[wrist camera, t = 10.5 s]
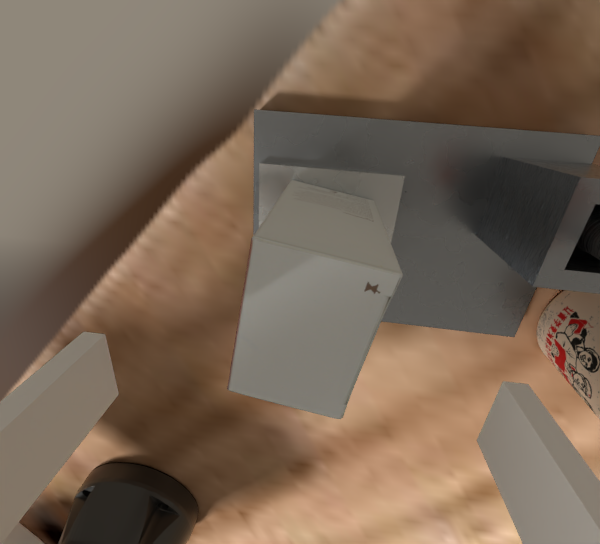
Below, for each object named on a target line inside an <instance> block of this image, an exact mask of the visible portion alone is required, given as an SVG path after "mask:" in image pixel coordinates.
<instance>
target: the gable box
mask: <svg viewBox="0 0 600 544" xmlns="http://www.w3.org/2000/svg"><path fill="white" fill-rule="evenodd" d="M2 544H45V543H44V542H43V541H42V540H40V539H39V538H38V537H37V536H36V535H34V534H33V533H32V532H31V531H29V530H28V529H27V528H26V527H24V526H23V525H22V524H21V523H20V522H18V524H17V525H16V526H15V527H14V529H13V530H12V531H11V533H10V534H9V535H8V536H7V538H6V539H5V540H4V541H3V543H2Z"/></svg>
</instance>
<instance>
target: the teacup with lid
mask: <svg viewBox="0 0 600 544" xmlns="http://www.w3.org/2000/svg"><path fill="white" fill-rule="evenodd" d="M537 340H538V344H539V346H540V348H541V350H542V352H543V353H544V354H545V355H546V357H547V358H548V359H549V360H550V361H551V363H552V364H553V365H554V366H555V367H556V368H557V370H558V371H559V372H560V373H561V374H562V375H563V377H564V378H565V379H566V380H567V381H568V383H569V384H570V385H571V386H572V387H573V388H574V390H575V391H576V392H577V393H578V394H579V395H580V397H581V398H582V399H583V400H584V401H585V403H586V404H587V405H588V406H589V407H590V408H591V410H592V411H593V412H594V413H595V414H596V415H597V417H598V418H599V419H600V294H596V293H587V292H578V291H569V290H564V291H563V292H561V293H560V294H559V295H558V296H556V297H555V298H554V299H553V300H552V301H551V302H550V303H549V305H548V306H547V307H546V308H545V310H544V311H543V313H542V315H541V317H540V319H539V322H538V326H537Z"/></svg>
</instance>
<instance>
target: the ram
mask: <svg viewBox="0 0 600 544" xmlns="http://www.w3.org/2000/svg"><path fill="white" fill-rule="evenodd" d="M576 247H578V248H580V249H581V250H583V251H585V252H587V253H588V254H590V255H592V256H594V257H596V258H597V259H599V260H600V211H598V210H596V209H593V211H592V213H591V215H590V217H589V219H588V221H587V223H586V225H585V227H584V229H583V232H582V234H581V236H580V238H579V240H578V242H577V244H576Z"/></svg>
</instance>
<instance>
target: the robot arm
mask: <svg viewBox="0 0 600 544" xmlns="http://www.w3.org/2000/svg"><path fill="white" fill-rule="evenodd" d="M118 395H119V392H118V388H117V384H116V379H115V375H114V370H113V366H112V362H111V357H110V353H109V349H108V344H107V340H106V335H105V334H100V333H91V332H83V333H81V334H80V335H79V336H78V337H77V338H75V339H74V340H73V341H72V342H71V343H69V344H68V345H67V346H66V347H65V348H64V349H62V350H61V351H60V352H59V353H58V354H56V355H55V356H54V357H53V358H52V359H51V360H49V361H48V362H47V363H46V364H45V365H43V366H42V367H41V368H40V369H39V370H37V371H36V372H35V373H34V374H33V375H32V376H30V377H29V378H28V379H27V380H26V381H24V382H23V383H22V384H21V385H20V386H19V387H17V388H16V389H15V390H14V391H13V392H11V393H10V394H9V395H8V396H7V397H5V398H4V399H3V400H2V401H1V402H0V544H2V543H3V541H4V540H5V539H6V538H7V536H8V535H9V534H10V533H11V531H12V530H13V529H14V527H15V526H16V525H17V524H18V522H19V521H20V520H21V518H22V517H23V516H24V515H25V513H26V512H27V511H28V510H29V508H30V507H31V506H32V504H33V503H34V502H35V501H36V499H37V498H38V497H39V496H40V494H41V493H42V492H43V490H44V489H45V488H46V487H47V485H48V484H49V483H50V482H51V480H52V479H53V478H54V476H55V475H56V474H57V473H58V471H59V470H60V469H61V468H62V466H63V465H64V464H65V462H66V461H67V460H68V459H69V457H70V456H71V455H72V454H73V452H74V451H75V450H76V448H77V447H78V446H79V445H80V443H81V442H82V441H83V439H84V438H85V437H86V436H87V434H88V433H89V432H90V431H91V429H92V428H93V427H94V425H95V424H96V423H97V422H98V420H99V419H100V418H101V417H102V415H103V414H104V413H105V411H106V410H107V409H108V408H109V406H110V405H111V404H112V403H113V401H114V400H115V399H116V397H117V396H118ZM477 442H478V444H479V447H480V449H481V451H482V453H483V455H484V458H485V460H486V462H487V464H488V467H489V469H490V471H491V473H492V476H493V478H494V480H495V482H496V485H497V487H498V489H499V491H500V494H501V496H502V498H503V500H504V502H505V505H506V507H507V509H508V511H509V514H510V516H511V518H512V520H513V523H514V525H515V527H516V529H517V532H518V534H519V536H520V538H521V541H522V543H523V544H600V481H599V480H598V478H597V477H596V476H595V474H594V473H593V472H592V470H591V469H590V468H589V466H588V465H587V464H586V462H585V461H584V459H583V458H582V457H581V455H580V454H579V453H578V451H577V450H576V449H575V447H574V446H573V445H572V443H571V442H570V440H569V439H568V438H567V436H566V435H565V434H564V432H563V431H562V430H561V428H560V427H559V426H558V424H557V423H556V421H555V420H554V419H553V417H552V416H551V415H550V413H549V412H548V411H547V409H546V408H545V407H544V405H543V404H542V402H541V401H540V400H539V398H538V397H537V396H536V394H535V393H534V392H533V390H532V389H531V387H530V386H529V385H528V384H522V383H514V382H505V381H503V383H502V385H501V387H500V389H499V392H498V394H497V396H496V398H495V401H494V403H493V405H492V407H491V410H490V412H489V414H488V416H487V419H486V421H485V423H484V425H483V427H482V430H481V432H480V434H479V436H478V439H477ZM197 517H198V506H197V504H196V501H195V499H194V498H193V496H192V495H191V494H190V493H189V491H188V490H187V489H186V488H184V487H183V486H182V485H181V484H180V483H178V482H177V481H175V480H174V479H172V478H171V477H169V476H167V475H165V474H163V473H161V472H159V471H156V470H154V469H151V468H148V467H145V466H141V465H136V464H129V463H111V464H106V465H102V466H100V467H98V468H96V469H94V470H93V471H92V472H91V473H90V474H89V476H88V477H87V479H86V480H85V482H84V483H83V484H82V486H81V487H80V489H79V490H78V492H77V494H76V497H75V499H74V502H73V505H72V508H71V510H70V513H69V516H68V519H67V521H66V524H65V527H64V530H63V532H62V535H61V538H60V541H59V543H58V544H186V543H187V541H188V540H189V538H190V536H191V534H192V531H193V528H194V526H195V523H196V520H197Z"/></svg>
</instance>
